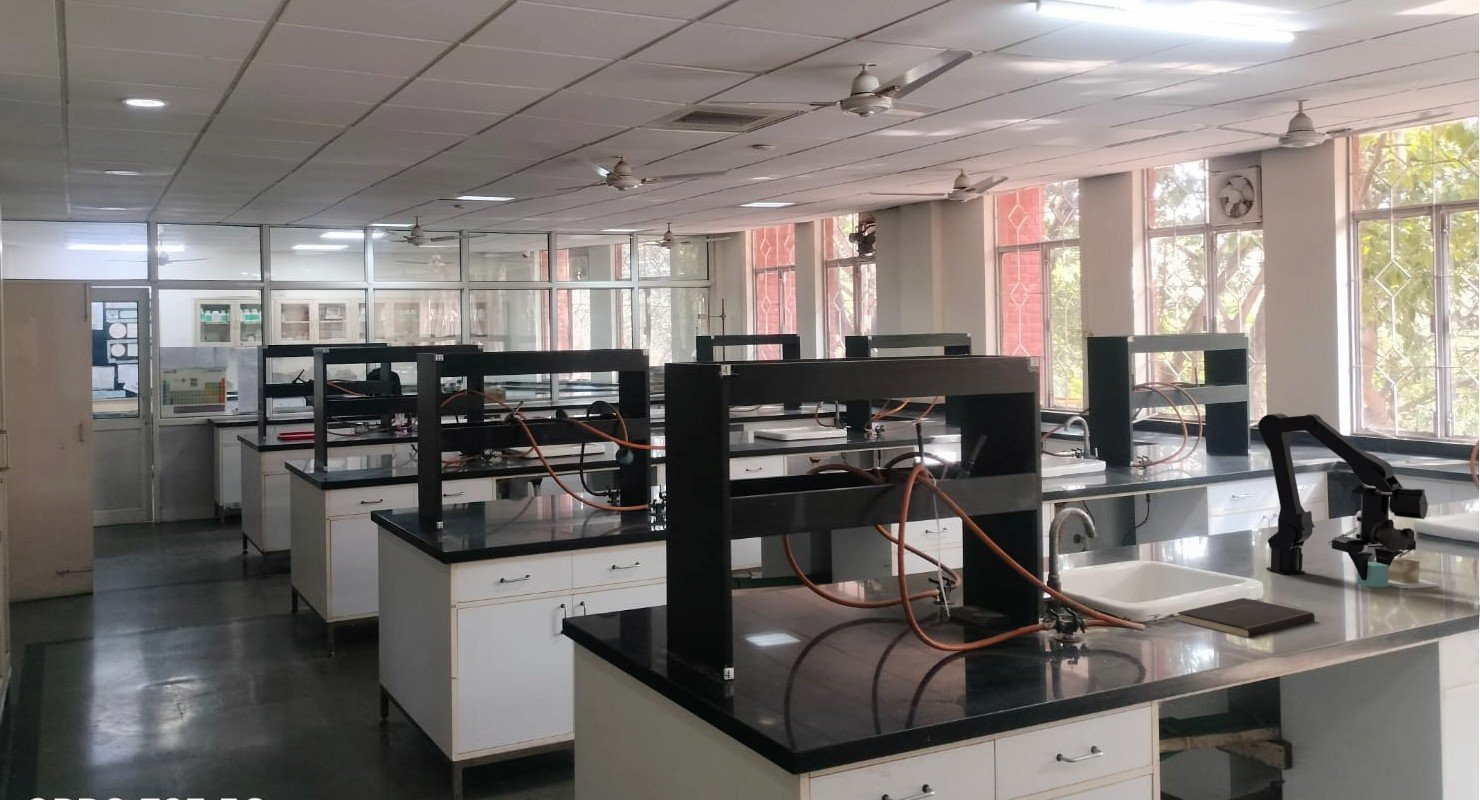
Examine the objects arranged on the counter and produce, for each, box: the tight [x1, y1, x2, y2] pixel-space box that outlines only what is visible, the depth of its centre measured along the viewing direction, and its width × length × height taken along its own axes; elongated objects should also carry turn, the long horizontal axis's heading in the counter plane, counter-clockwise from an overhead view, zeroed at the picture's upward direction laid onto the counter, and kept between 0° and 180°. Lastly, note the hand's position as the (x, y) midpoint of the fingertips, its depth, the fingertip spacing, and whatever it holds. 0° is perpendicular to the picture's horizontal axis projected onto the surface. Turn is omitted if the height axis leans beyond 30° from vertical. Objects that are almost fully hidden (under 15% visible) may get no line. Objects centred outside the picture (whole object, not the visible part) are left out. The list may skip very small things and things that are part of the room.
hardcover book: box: [1177, 597, 1316, 639], centre depth 230 cm, size 16×23×2 cm
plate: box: [1388, 578, 1439, 589], centre depth 265 cm, size 10×10×1 cm
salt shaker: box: [1354, 510, 1377, 562], centre depth 291 cm, size 6×6×13 cm
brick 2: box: [1388, 557, 1420, 583], centre depth 265 cm, size 4×4×5 cm
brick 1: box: [1356, 561, 1389, 588], centre depth 263 cm, size 4×4×5 cm
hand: (1372, 579), depth 263 cm, fingers closed on brick 1, 4 cm apart
